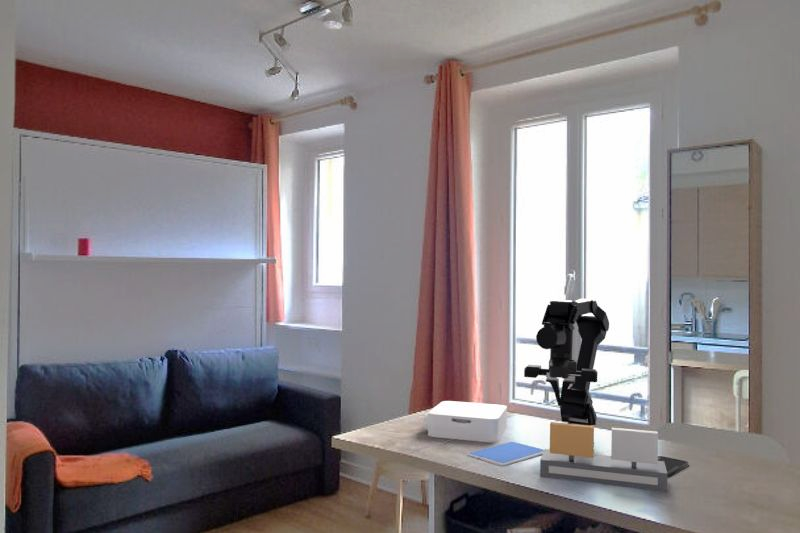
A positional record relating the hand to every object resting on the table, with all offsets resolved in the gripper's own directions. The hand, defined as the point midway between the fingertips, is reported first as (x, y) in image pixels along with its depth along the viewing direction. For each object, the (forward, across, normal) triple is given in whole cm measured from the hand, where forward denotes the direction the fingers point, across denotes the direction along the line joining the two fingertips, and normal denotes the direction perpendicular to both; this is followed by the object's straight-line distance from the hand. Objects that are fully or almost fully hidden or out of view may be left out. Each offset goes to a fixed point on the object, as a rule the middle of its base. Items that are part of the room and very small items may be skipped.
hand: (559, 405), depth 172 cm
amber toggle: (+9, +4, -18) cm, 20 cm away
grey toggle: (+9, +18, -18) cm, 27 cm away
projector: (+13, -28, +17) cm, 35 cm away
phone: (+14, +26, -1) cm, 29 cm away
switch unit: (+14, +11, -15) cm, 23 cm away
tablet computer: (+14, -13, -4) cm, 20 cm away
